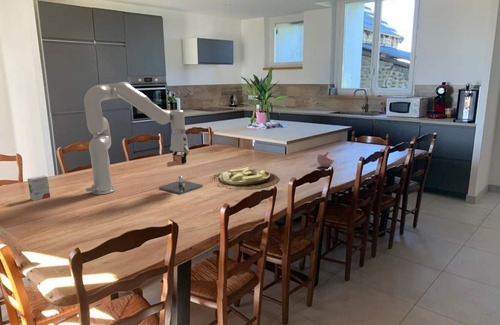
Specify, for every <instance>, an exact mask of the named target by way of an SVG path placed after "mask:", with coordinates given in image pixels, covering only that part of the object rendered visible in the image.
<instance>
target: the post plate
mask: <svg viewBox="0 0 500 325" xmlns="http://www.w3.org/2000/svg"><path fill="white" fill-rule="evenodd" d="M177 177H178V178H177V181H174V182H171V183H168V184H163V185H160V186H159V187H158V189H159V190H162V191H167V192H170V193H174V194H177V195H184V194H186V193H189V192H192V191H194V190H198V189H201V188H203V187H204V186H203V184H201V183H197V182H192V181H188V180H184V176H182V175H179V176H177Z"/></svg>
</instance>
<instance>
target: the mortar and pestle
mask: <svg viewBox="0 0 500 325" xmlns="http://www.w3.org/2000/svg"><path fill="white" fill-rule="evenodd" d="M328 154H329V151H327V152H326V153H325V154H324V153H322V152H319V153H318V154H317V158H316V162H317V164H318V165H319V166H320V167H322V168H328V167H331V166H333V164H334V162H335V159H334V158H332V157H330V156H328Z"/></svg>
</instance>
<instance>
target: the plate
mask: <svg viewBox="0 0 500 325" xmlns="http://www.w3.org/2000/svg"><path fill="white" fill-rule="evenodd" d="M211 180H213V181H215V182H216V184H214V185H215V187H218V188H227V189H228V190H236V191H237V190H240V191H248V190H259V189H260V190H262V189H265V188H267V189H268V188H270V187H272V186H274V185H276V184H278V183H279V181H281V180H280V177H279V176H278V175H276V174H274V173H272V172H269V171H268V170H264V169H261V168H250V167H249V166H248V167H243V168H242V167H241V168H237V169H234V168H233V169H229V170H226V171H224V172H223V171H222V172H220V173H218V174H215V175H213V176H212V178H210V179H209V181H211ZM228 186H229V187H228Z"/></svg>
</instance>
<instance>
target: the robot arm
mask: <svg viewBox="0 0 500 325" xmlns="http://www.w3.org/2000/svg"><path fill="white" fill-rule="evenodd" d="M114 99H115V100H116V99H122V100H124V101H125V102H127V103H129V104H130V105H132V106H133V107H135V108H136V109H137V110H138V111H139V112H141V113H143V114H144V115H146V116H147V117H148V118H150V119H151V120H153V122H154V121H155V122H156V123H157V124H160V125H167V124H168V123H170V124H171V126H170V127H171V136H170V147H169V150H170V152H171V153H172V158H173V159H172V161H174V155H178V153H179V152H180V154H182V157H181V160H182V164H184V163H185V164H187V156H188V154H189V153H190V149H189V141H188V136H187V134H186V131H187V130H186V125H185V123H186V122H185V111H184V110H182V109H171V110H170V109H162V108H161V107H159V106H158V105H157V104H155V103H154V102H152V100H151V99H150V98H149V97H148V96H147V95H145V94H144V93H143V92H141V91H139V90H138V89H136V88H135V87H133V86H132V85H131V83H130V82H128V81H119V82H115V83H106V84H105V83H104V84H97V85H94V86H92V87H90V88H89V89H88V90H87V91H86V93H85V95H84V98H83V104H84V110H85V119H86V124H87V125H86V126H87V127H86V128H87V129H88V131H89V133H90V134H92V136H93V138H92V139H91V140H90V141H89V144H88V152H89V155H90V156H89V157H90V162H91V171H92V172H91V173H92V181H93V184H91V186H90V187H86V188H85V191H86V192H91V194H93V195H107V194H111V193H114V192H115V191H116V188H115V187H114V186H113V185H112V184H113V182H112V173H111V172H112V171H111V163H110V156H109V155H110V154H109V149H110V148H111V145H112V136H111V130H110V124H109V122H108V119H107V118H106V117H104V115H103V108H102V104H101V103H102V102H103V101H107V100H114ZM185 164H184V165H185Z"/></svg>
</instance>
